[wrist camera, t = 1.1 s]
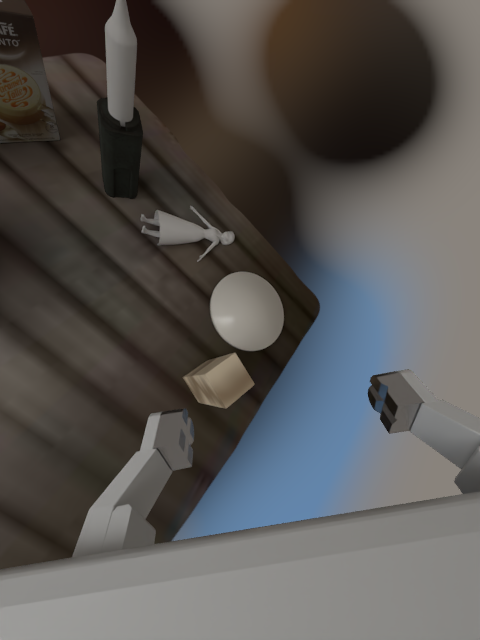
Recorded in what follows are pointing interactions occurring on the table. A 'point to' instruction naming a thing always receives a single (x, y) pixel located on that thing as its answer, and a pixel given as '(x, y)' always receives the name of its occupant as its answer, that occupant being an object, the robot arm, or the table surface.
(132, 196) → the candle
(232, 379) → the maple block
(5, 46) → the coffee box
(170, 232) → the woman figurine
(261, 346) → the plate
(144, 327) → the table surface
